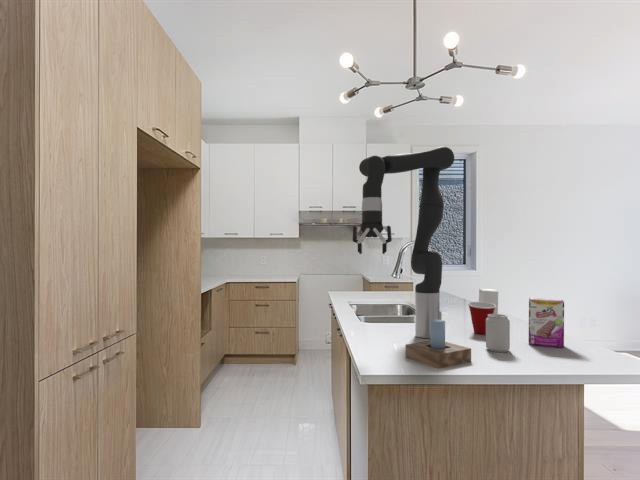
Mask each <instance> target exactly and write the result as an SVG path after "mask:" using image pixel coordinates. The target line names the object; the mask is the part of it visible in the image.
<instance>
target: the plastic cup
mask: <svg viewBox="0 0 640 480" xmlns="http://www.w3.org/2000/svg"><path fill="white" fill-rule="evenodd" d="M467 305H468V308H469V312H470V317H471V323H472V328H473V333H474V334H477V335H484V336H486V318H487V317H488V315H489V314H493V313H494V309H495V308H496V305H495V304H492V303H487V302H479V301H469V302H468V303H467Z"/></svg>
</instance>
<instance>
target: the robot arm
mask: <svg viewBox="0 0 640 480" xmlns="http://www.w3.org/2000/svg"><path fill="white" fill-rule="evenodd" d="M454 163H455V155H454V152H453V150H452V148H449V147H447V146H439V147H435V148H432V149H429V150H426V151H420V152H409V153H397V154H388V155H385V156H380V155H378V154H377V155H376V154H374V155H371V156H369V157H366V158H364V159H362V161H360V163H359V166H358V167H359V172H360V173H361V174H362V175H363V176H364V177H367V178H366V181H365V182H364V183H363V185H362V200H361V225H360V226H357V225H354V226H353V229H352V242H353V243H356V244H357V253H359V255H362V254H363V243H362V242H363V241H364V240H365V239H366V238H368V239H369V238H373V239H375V238H379V239H380V241H381V242H382V245H381V246H382V251H381V252H382V253H381V254H382V255H385V253H387V251H388V249H387V246H388V245H387V244H388V243H390V242H391V243H392V241H393V240H392V238H393V237H392V227H391V226H390V225H387V226H386V225H385V226H384V225H383V200H382V185H383V182H384V178H385V175H387V174H389V175H391V174H398V173H399V174H400V173H405V172H410V171H411V172H412V171H415V170H420V169H422V183H421V184H422V185H421V195H420V203H419V210H418V221H417V227H416V235H415V238H414V244H413V247H412V248H413V249H412V252H411V259H410V266H411V270H412V271H413V273H415V274H417V275H424V277H423V278H424V279H423V280H422V281H421V282H419V283H417V284H415V287H414V291H415V293H414V294H415V296H414V297H415V298H414V299H415V301H414V302H415V303H414V304H415V305H414V306H415V309H414V310H415V312H414V314H415V318H414V319H415V320H414V321H415V322H414V323H415V325H414V326H415V332H414V333H415V337H416V338H422V339H431V320H443V319H442V316H443V315H442V314H443V313H442V311H441V309H440V305H441V304H440V303H441V302H440V301H441V299H440V296H441V295H440V294H441V293H440V292H441V291H440V290H441V286H442V278H443V277H442V275H443V259H442V257H441V254H440V253H439V252H438V251H436V250H435V251H433V250H429V246H430V242H431V240H432V237H433V235H434V234H435V233H436V231H437V230H438V229H439V226H440V225H441V223H442V220H443V214H444V207H445V203H444V199H443V196H442V192H441V191H440V188H439V178H440V173H441V171H444V170H447V169H449V168H450V167H452V165H453V164H454ZM360 230H361V233H362V234H361V236H360V237H359V239H358V233H359V232H360ZM383 231H385V232H386V233H387V234H386V235H387V239H386V238H385V237H384V236H383V234H382V232H383Z"/></svg>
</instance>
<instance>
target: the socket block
mask: <svg viewBox="0 0 640 480" xmlns="http://www.w3.org/2000/svg"><path fill="white" fill-rule="evenodd" d="M405 358H407V359H409V360H413V361H416V362H418V363H422V364H423V365H427V366H430V367H433V368H436V369H440V368H446V367H451V366H456V365H461V364H465V363H471V362H472V348H471V347H467V346H463V345H459V344H456V343H452V342H448V341H445V349H439V350H437V349H433V348H431V340H428V341H427V340H426V341H425V340H424V341H421V342H415V343H414V342H413V343H407V344H405Z"/></svg>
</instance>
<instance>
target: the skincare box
mask: <svg viewBox="0 0 640 480" xmlns="http://www.w3.org/2000/svg"><path fill="white" fill-rule="evenodd" d="M478 302H487V303H492V304H495V305H496V308H495V309H494V313H493V314H499V291H498V290H497V289H494V288H479V289H478Z"/></svg>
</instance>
